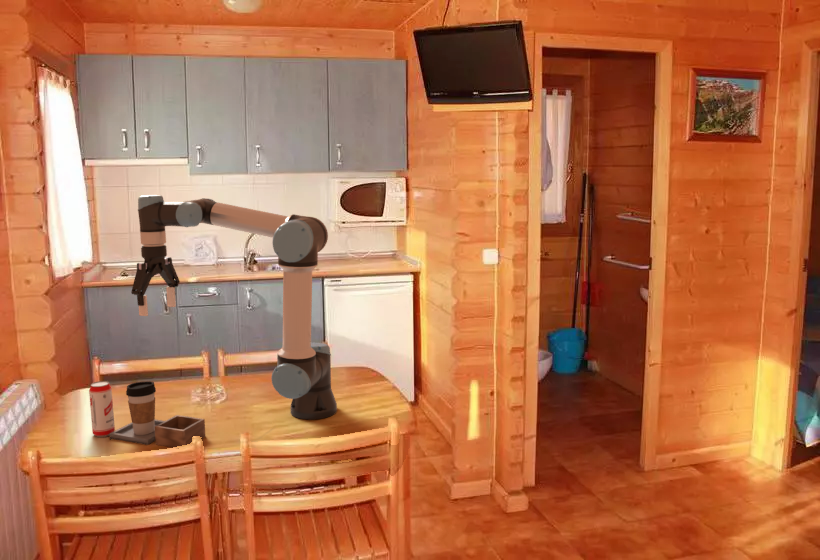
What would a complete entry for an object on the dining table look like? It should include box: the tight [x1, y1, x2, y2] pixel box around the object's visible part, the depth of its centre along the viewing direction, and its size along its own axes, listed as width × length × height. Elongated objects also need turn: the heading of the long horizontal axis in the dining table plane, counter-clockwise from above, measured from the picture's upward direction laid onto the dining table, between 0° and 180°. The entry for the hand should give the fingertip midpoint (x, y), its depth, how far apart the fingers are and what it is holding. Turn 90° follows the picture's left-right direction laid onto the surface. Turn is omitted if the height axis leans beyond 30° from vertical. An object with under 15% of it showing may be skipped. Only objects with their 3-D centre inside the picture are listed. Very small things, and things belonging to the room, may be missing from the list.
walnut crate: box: [155, 414, 206, 448], centre depth 214 cm, size 10×10×6 cm
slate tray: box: [108, 419, 165, 446], centre depth 220 cm, size 14×14×2 cm
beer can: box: [88, 380, 116, 438], centre depth 220 cm, size 6×6×16 cm
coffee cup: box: [125, 380, 157, 435], centre depth 219 cm, size 8×8×15 cm
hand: (158, 311), depth 231 cm, fingers open, 13 cm apart
